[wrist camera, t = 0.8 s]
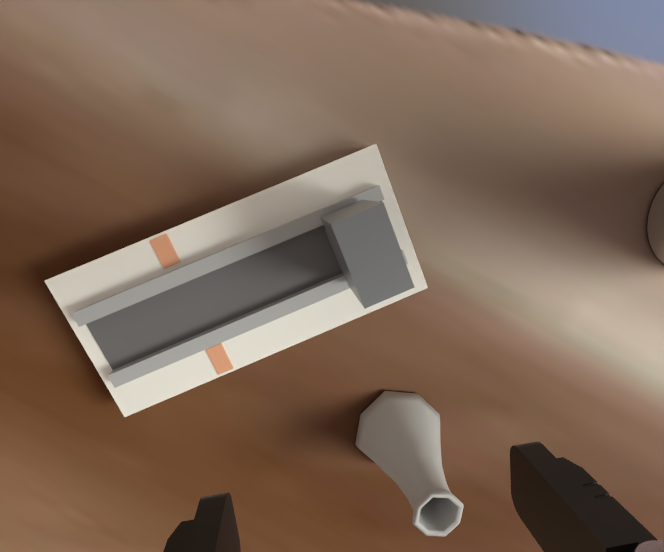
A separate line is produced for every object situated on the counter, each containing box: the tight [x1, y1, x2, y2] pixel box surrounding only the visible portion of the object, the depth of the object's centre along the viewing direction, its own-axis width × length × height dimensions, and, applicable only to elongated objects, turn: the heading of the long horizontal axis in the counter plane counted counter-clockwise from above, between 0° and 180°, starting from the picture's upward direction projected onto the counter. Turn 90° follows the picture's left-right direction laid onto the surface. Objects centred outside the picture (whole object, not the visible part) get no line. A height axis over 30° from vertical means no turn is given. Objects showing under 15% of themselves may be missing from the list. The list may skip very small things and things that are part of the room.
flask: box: [355, 391, 464, 536], centre depth 31 cm, size 7×7×10 cm
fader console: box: [45, 144, 428, 417], centre depth 30 cm, size 24×11×4 cm, turn 112°
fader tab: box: [321, 200, 415, 309], centre depth 26 cm, size 3×5×7 cm, turn 22°
